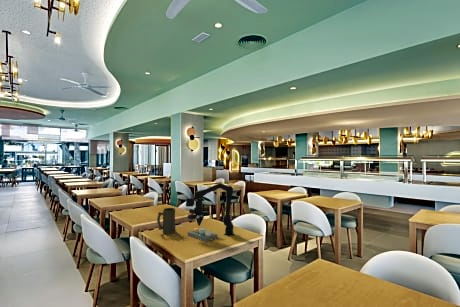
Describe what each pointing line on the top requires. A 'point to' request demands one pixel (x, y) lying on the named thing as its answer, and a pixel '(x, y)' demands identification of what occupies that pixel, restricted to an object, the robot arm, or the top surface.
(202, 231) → the button teal
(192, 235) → the console
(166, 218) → the beer stein
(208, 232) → the button cream
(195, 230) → the button orange
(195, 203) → the robot arm
